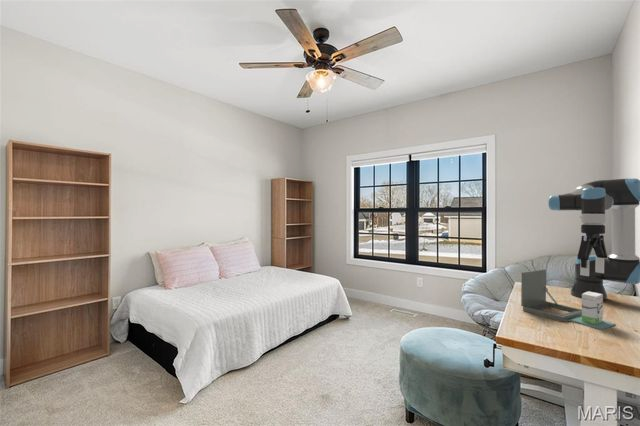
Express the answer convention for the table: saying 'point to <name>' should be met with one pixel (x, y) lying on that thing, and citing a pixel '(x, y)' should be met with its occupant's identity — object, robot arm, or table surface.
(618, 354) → the table surface
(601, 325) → the mat
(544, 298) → the case
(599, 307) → the ink box
